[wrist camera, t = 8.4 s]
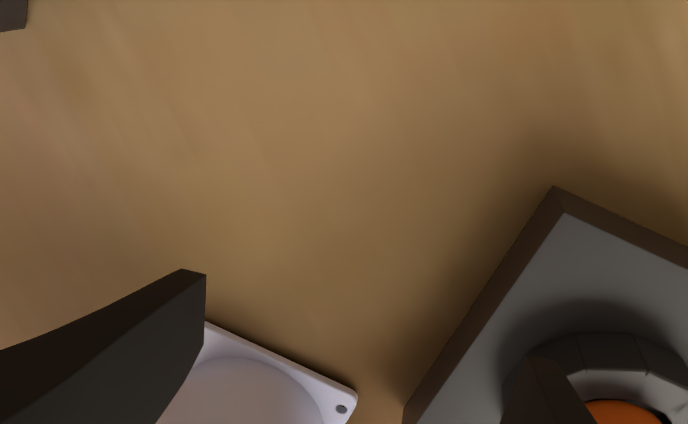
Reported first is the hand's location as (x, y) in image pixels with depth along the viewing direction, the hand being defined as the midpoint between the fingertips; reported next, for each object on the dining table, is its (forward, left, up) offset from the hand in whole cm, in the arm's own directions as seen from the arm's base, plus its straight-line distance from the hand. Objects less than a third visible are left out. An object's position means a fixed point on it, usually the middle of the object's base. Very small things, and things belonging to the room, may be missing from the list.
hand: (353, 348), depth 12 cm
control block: (-3, -10, -9) cm, 13 cm away
